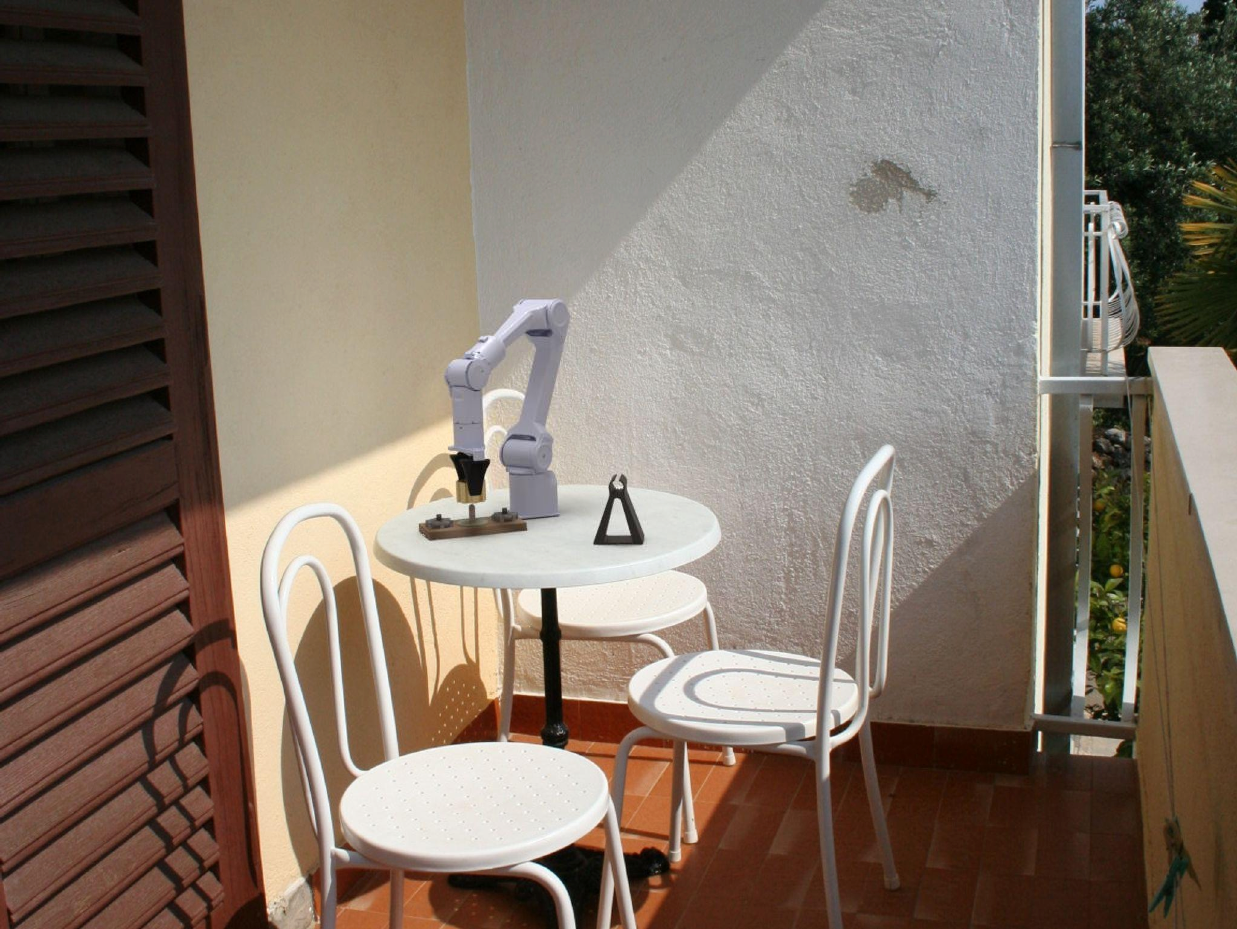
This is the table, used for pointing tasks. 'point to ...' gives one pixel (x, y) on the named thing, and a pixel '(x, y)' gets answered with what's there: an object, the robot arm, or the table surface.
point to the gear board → (472, 525)
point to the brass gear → (463, 493)
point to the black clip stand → (630, 515)
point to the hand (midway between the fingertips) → (471, 492)
